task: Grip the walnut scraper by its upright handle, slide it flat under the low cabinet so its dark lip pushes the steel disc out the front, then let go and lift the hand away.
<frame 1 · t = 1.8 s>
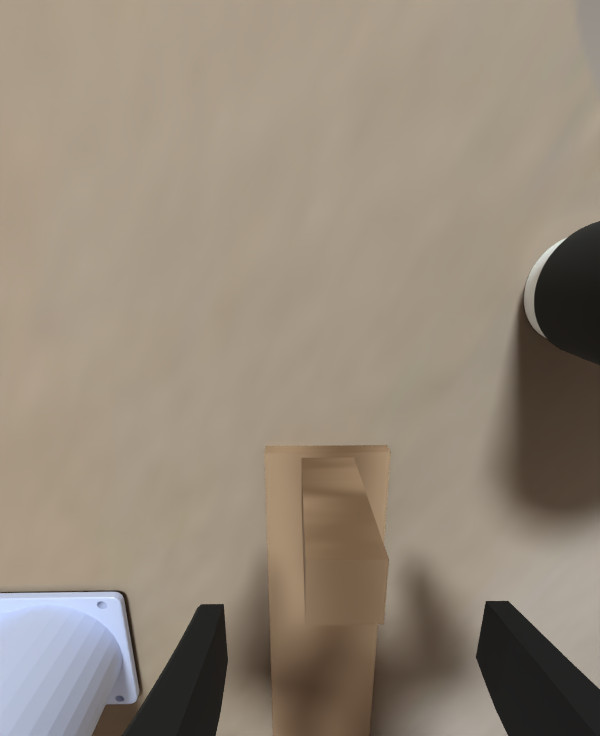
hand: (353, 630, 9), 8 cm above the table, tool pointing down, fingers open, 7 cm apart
dixie cup: (573, 290, 15), on the table
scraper: (322, 617, 19), on the table
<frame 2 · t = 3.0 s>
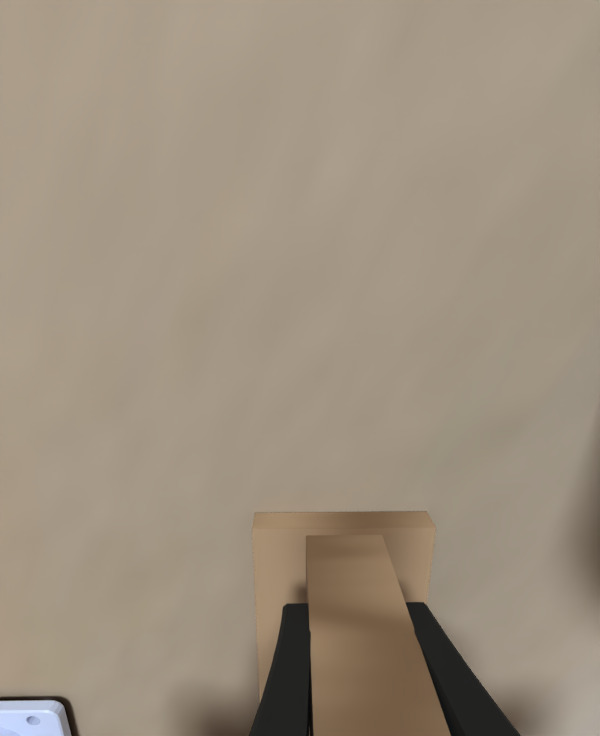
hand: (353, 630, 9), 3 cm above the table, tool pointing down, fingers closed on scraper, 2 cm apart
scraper: (333, 730, 14), on the table, touching gripper
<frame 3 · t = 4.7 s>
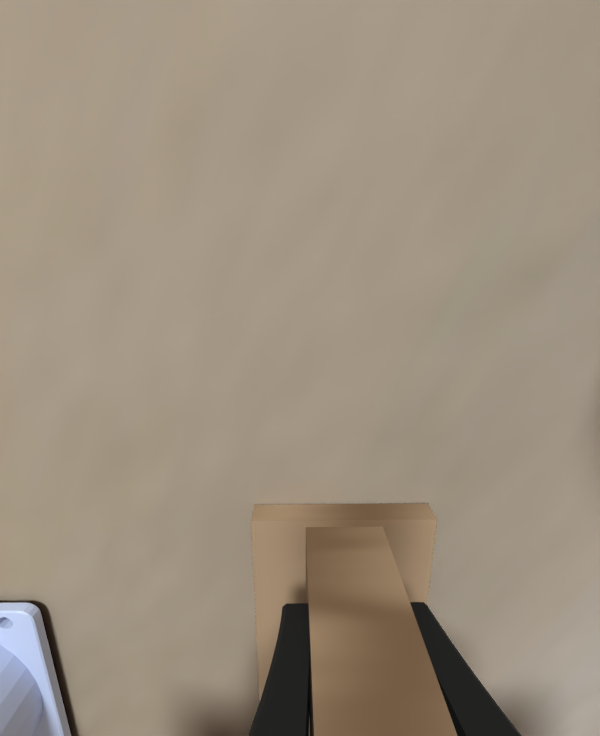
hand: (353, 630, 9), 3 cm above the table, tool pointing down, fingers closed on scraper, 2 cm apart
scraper: (333, 725, 14), on the table, touching gripper
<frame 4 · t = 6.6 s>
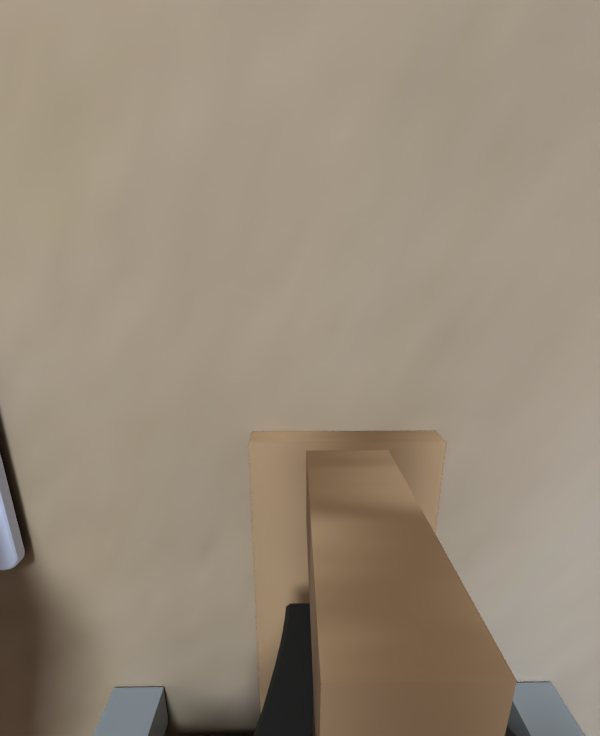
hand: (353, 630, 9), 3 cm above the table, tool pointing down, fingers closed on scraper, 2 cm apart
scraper: (335, 678, 13), on the table, touching gripper
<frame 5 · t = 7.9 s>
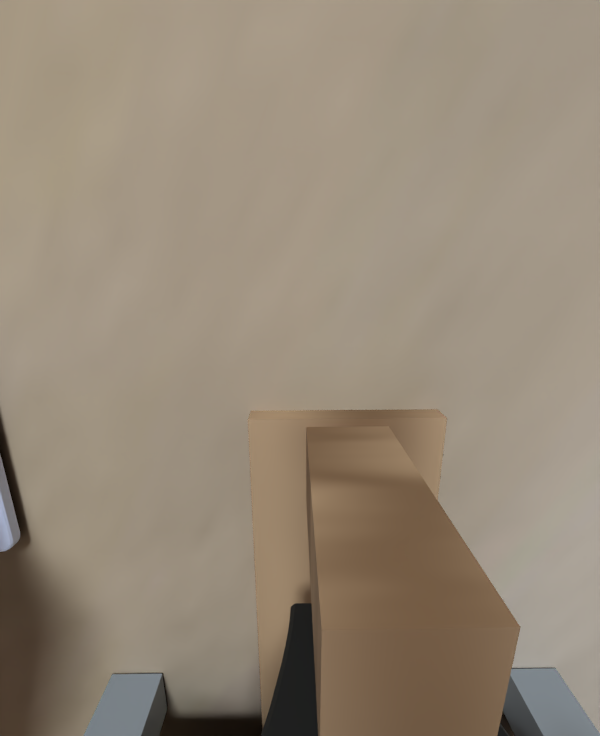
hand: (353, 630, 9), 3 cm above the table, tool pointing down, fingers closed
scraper: (336, 661, 13), on the table
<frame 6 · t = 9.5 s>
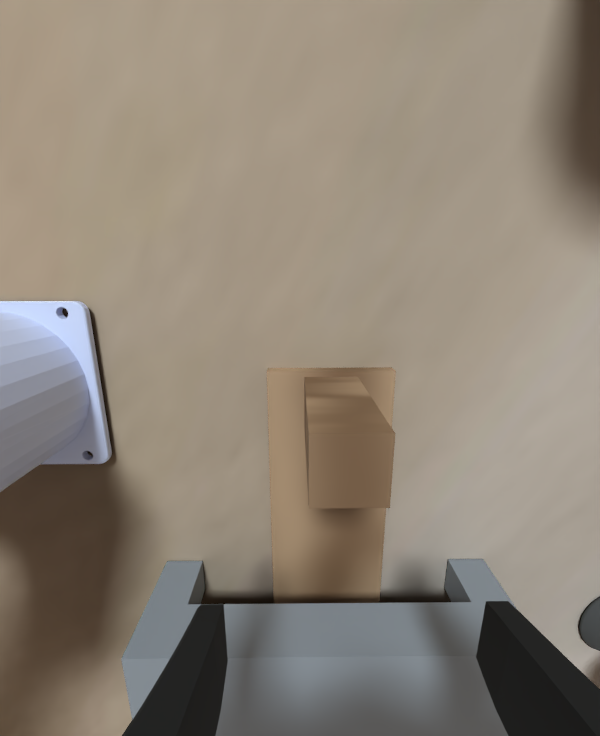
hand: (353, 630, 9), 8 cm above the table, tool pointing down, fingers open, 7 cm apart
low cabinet: (324, 621, 20), on the table
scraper: (326, 553, 19), on the table
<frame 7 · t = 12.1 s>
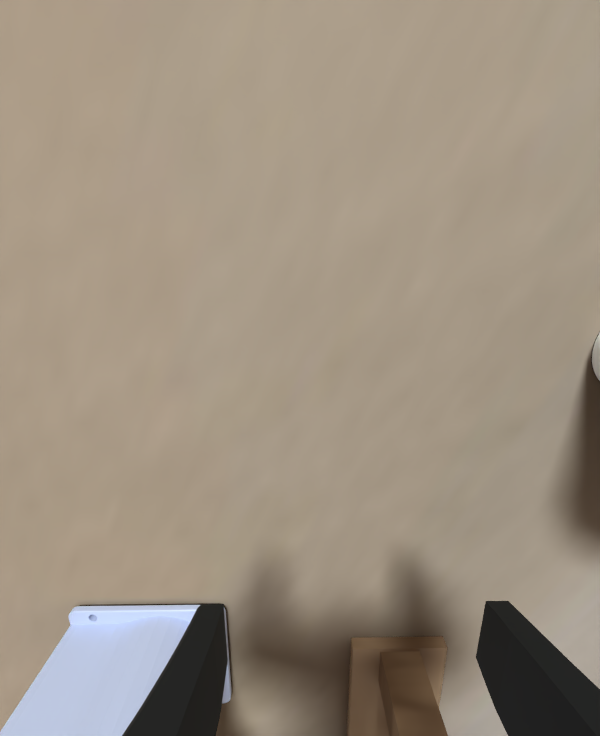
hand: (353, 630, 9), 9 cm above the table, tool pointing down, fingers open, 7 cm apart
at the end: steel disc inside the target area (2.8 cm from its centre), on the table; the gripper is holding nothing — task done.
